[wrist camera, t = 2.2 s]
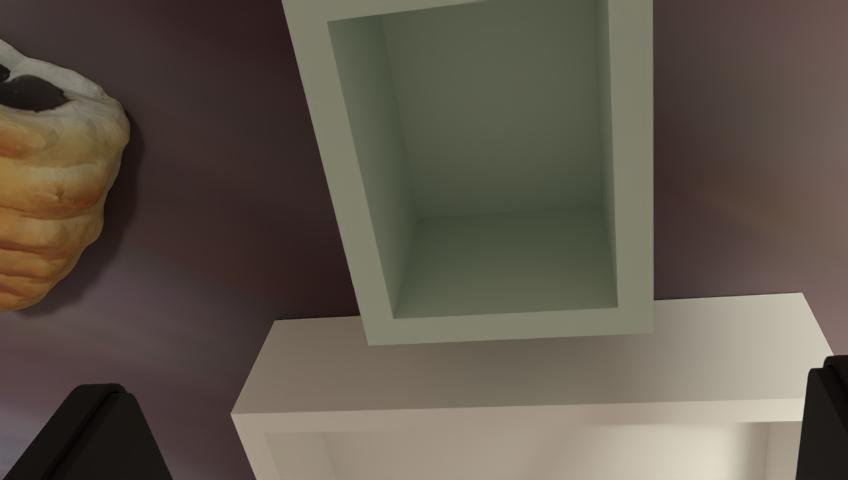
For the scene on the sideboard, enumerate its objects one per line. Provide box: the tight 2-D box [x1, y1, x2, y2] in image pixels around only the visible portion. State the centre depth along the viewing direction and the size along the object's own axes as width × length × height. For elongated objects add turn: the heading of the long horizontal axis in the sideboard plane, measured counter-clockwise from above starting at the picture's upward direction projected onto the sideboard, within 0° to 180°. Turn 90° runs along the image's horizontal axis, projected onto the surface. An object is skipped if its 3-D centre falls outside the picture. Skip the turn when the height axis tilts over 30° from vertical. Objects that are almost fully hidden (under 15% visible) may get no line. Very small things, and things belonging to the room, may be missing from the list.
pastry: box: [0, 39, 130, 313], centre depth 23 cm, size 9×7×4 cm
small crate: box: [282, 0, 654, 346], centre depth 18 cm, size 9×7×6 cm
